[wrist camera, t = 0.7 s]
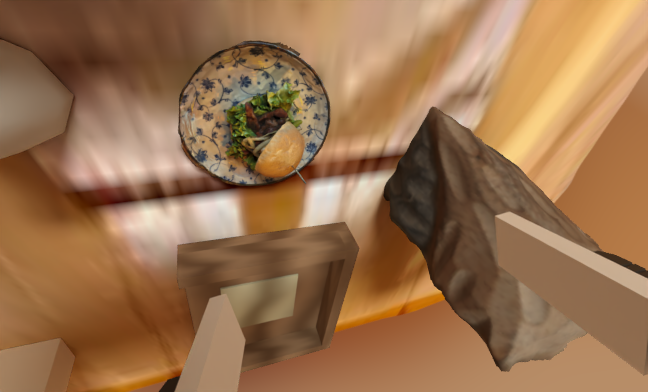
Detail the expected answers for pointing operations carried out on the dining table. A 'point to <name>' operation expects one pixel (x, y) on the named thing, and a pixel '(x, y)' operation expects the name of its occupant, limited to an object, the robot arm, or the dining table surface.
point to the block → (36, 367)
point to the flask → (29, 101)
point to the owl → (479, 237)
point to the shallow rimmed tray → (273, 287)
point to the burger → (253, 114)
